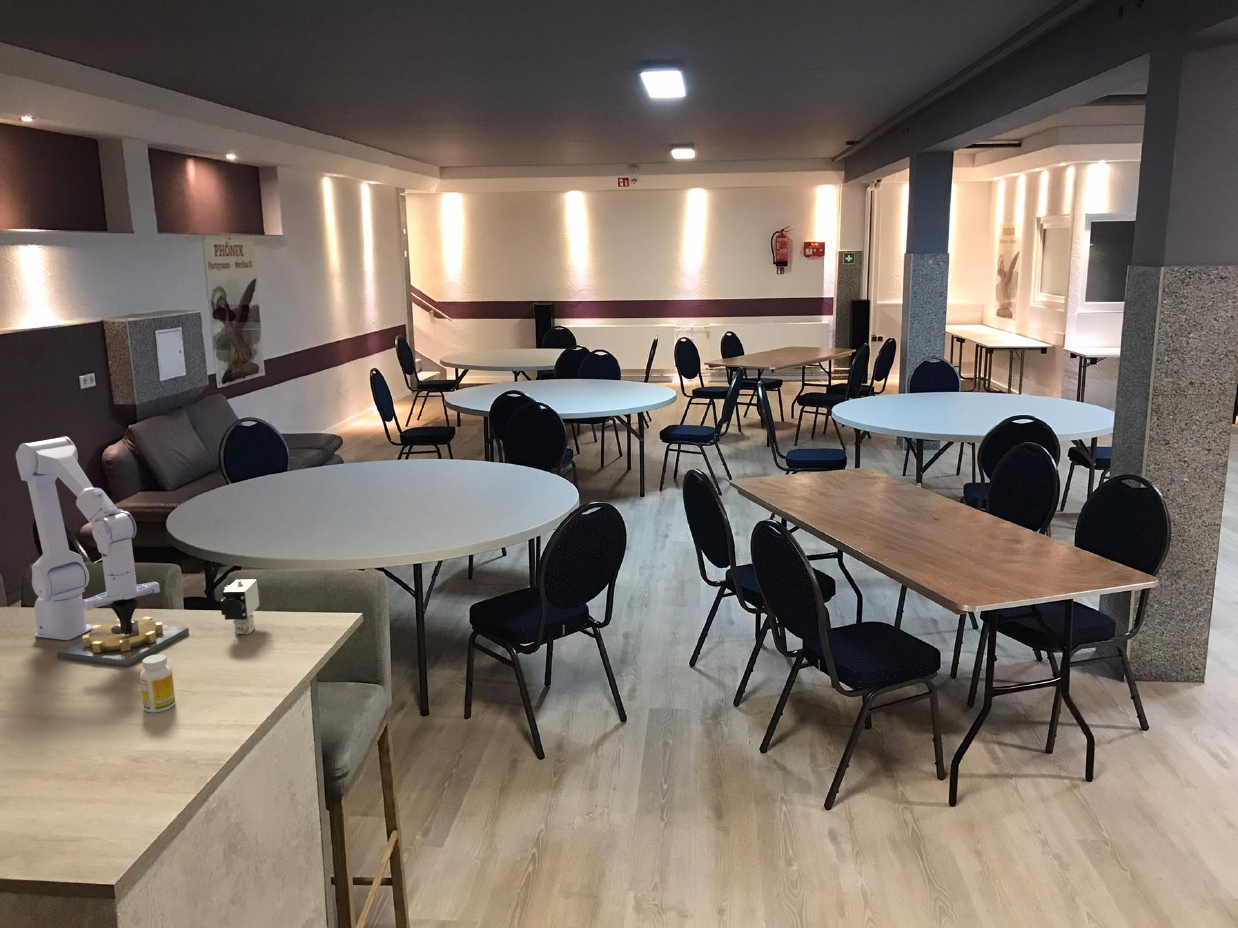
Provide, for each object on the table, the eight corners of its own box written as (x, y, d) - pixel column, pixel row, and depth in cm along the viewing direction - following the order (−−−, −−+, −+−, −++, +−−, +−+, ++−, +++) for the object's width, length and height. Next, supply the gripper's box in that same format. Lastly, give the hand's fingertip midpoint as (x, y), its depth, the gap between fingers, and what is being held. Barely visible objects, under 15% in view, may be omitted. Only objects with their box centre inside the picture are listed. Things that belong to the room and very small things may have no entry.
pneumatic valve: (264, 621, 220) (259, 571, 217) (246, 641, 209) (241, 589, 206) (239, 622, 220) (234, 572, 217) (220, 642, 208) (215, 590, 206)
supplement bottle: (138, 713, 177) (132, 664, 175) (152, 700, 182) (146, 652, 180) (167, 713, 177) (161, 664, 175) (180, 699, 182) (175, 652, 180)
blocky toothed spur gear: (72, 641, 206) (69, 619, 205) (141, 620, 217) (138, 599, 216) (104, 658, 197) (101, 635, 196) (174, 635, 208) (172, 613, 207)
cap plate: (57, 658, 201) (56, 651, 201) (122, 626, 218) (121, 620, 218) (128, 667, 197) (127, 660, 196) (189, 633, 213) (188, 627, 213)
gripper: (90, 584, 192) (98, 648, 194) (163, 566, 202) (170, 627, 205) (76, 576, 196) (84, 639, 199) (148, 559, 207) (155, 619, 210)
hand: (126, 632), depth 202 cm, fingers closed, pressing on blocky toothed spur gear
